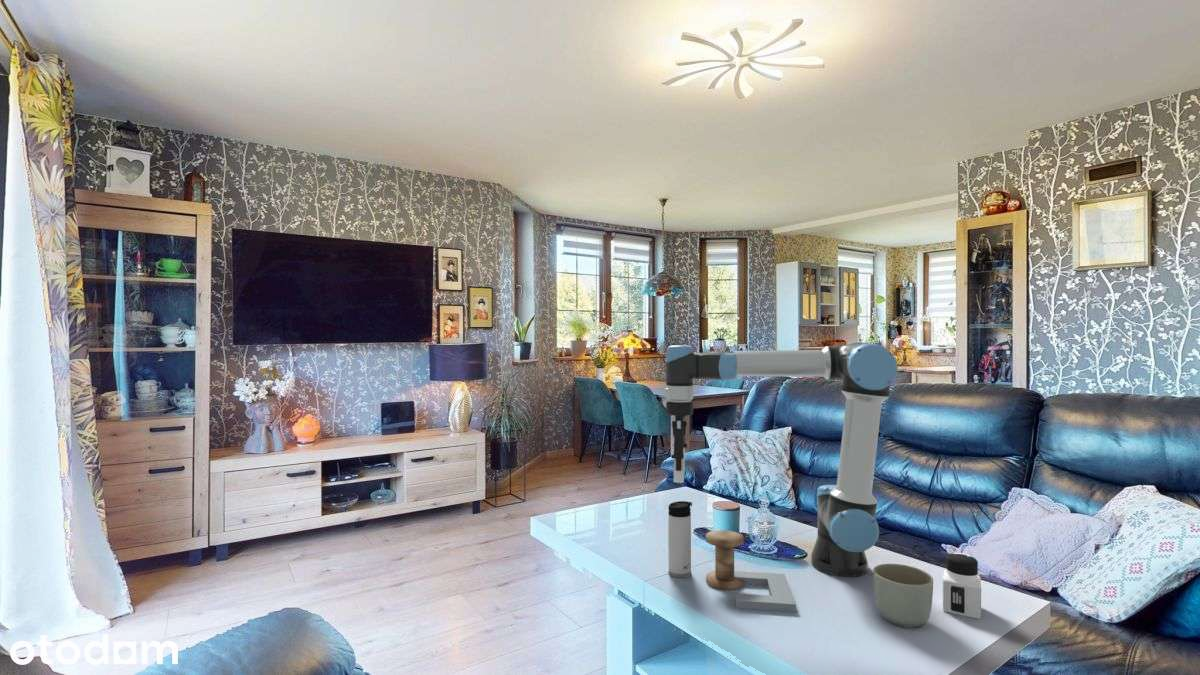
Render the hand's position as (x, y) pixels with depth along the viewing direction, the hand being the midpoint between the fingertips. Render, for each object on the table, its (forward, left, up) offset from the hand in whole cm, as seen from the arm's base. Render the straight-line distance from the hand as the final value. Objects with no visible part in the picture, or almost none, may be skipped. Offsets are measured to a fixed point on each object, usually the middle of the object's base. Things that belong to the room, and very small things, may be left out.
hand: (679, 476), depth 163 cm
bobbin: (-12, +4, -27) cm, 30 cm away
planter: (-52, +19, -28) cm, 62 cm away
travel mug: (0, 0, -28) cm, 28 cm away
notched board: (-21, +10, -27) cm, 36 cm away
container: (-68, +11, -28) cm, 74 cm away
